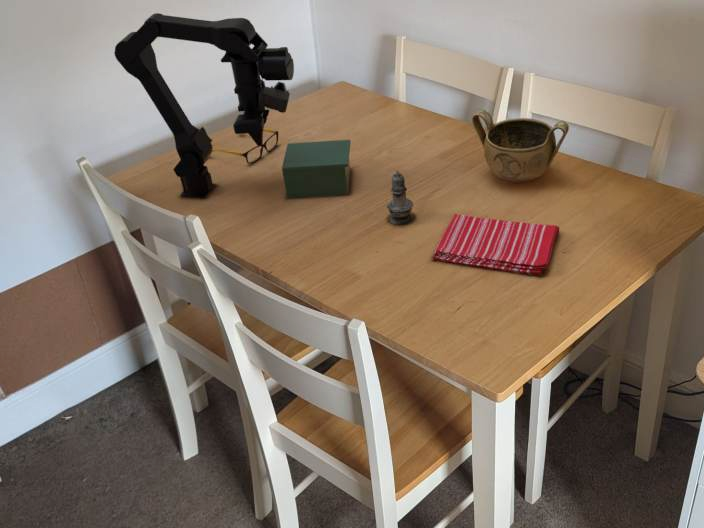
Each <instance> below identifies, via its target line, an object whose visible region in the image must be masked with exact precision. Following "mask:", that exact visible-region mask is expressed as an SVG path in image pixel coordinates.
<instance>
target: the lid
mask: <svg viewBox="0 0 704 528" xmlns="http://www.w3.org/2000/svg"><path fill="white" fill-rule="evenodd" d="M350 151H351V139H338V140H337V139H336V140H321V141H304V142H291V143H288V142H287V145H286V149H285V153H284V156H283V160H282V165H281V171H286V170H303V169H319V168H336V167H348V162H349V161H350Z"/></svg>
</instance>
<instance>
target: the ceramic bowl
mask: <svg viewBox="0 0 704 528" xmlns="http://www.w3.org/2000/svg"><path fill="white" fill-rule="evenodd" d="M480 119H482V120H483V121H484V123H485V126H486V131H485V129H484V126H483V124H482V122H481V120H480ZM471 122H472V125H473V128H474V130H475V132H476V134H477V137H478V138H479V141H480V142H481V144H482V148H483V154H484V159H485V162H486V165H487V166H488V168H489V170H490V172H491V173H492V174H494V175H495V176H496V177H498V178H499V179H501V180H504V181H506V182H510V183H511V182H512V183H525V182H529V181H532V180H535V179H537V178H539V177H540V176H542V175H543V174H544V173H545V172H547V170H548V168H550V167H551V164H552V163H553V161H554V158H555V157H556V155H557V154H558V152H559V149H560V147H561V145H562V144H563V142H564V140H565V138H566V136H567V134H568V133H569V129H570V127H569V124H568V123H567V122H566V121H564V120H560V121H557V122H556V123H555V124H554V125H553V127H552V126H551V125H550V124H549V123H547V122H545V121H543V120H539V119H535V118H530V117H528V118H527V117H516V118H508V119H505V120H501V121H497V122H496V123H494V119H493V117H492V115H491V114H490V113H489V111H488V110H486V109H483V108H480V109H477V110H476V112H475V113H474V114H473V115H472V119H471ZM556 130H560V131H562V136H560V138H559V140H558V142H557V140H556V139H557V138H556V135H555V131H556Z"/></svg>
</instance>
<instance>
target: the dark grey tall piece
mask: <svg viewBox="0 0 704 528" xmlns="http://www.w3.org/2000/svg"><path fill="white" fill-rule="evenodd" d="M405 180H406V179H405V175H404V174H402V173H400V171H399V170H396V171H395V173H394V174H393V175H392V176H391V188H390V192H391V193H392V195H391V196H392V198H391V200H389V201H388V202H387V204H386V208H387V209H388V212H389V213H390V216H389V218H388V221H389V222H390V223H391V224H393V225H397V226H401V225H403V226H404V225H408V224H409V223H411V222H412V221H413V219H414V217H413V215H412V214H411V212H412V211H413V210H412V209H413V207H414V202H413V200H411V199H409V198H407V191H408V188H407V187H406V181H405Z"/></svg>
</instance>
